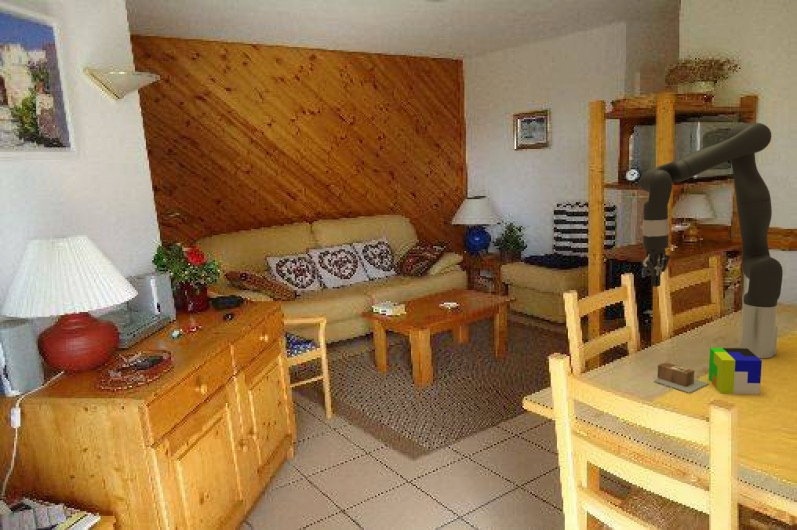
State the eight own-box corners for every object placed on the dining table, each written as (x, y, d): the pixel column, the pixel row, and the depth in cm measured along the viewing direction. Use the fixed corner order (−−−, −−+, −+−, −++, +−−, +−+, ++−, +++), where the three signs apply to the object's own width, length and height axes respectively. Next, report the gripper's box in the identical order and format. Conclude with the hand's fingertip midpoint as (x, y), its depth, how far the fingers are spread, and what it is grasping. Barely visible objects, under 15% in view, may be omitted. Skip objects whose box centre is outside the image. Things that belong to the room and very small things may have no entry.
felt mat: (673, 373, 173) (673, 372, 173) (708, 384, 164) (708, 383, 164) (653, 382, 168) (653, 380, 168) (689, 393, 159) (689, 392, 159)
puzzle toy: (759, 394, 156) (761, 360, 154) (720, 393, 158) (722, 360, 156) (745, 380, 166) (747, 348, 164) (708, 379, 168) (710, 347, 166)
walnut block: (665, 361, 171) (694, 369, 164) (665, 374, 172) (693, 383, 164) (657, 364, 169) (686, 373, 162) (657, 377, 170) (686, 386, 162)
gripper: (656, 229, 184) (656, 280, 187) (632, 235, 177) (633, 288, 180) (678, 231, 177) (678, 283, 181) (654, 237, 170) (654, 292, 174)
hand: (655, 286), depth 180 cm, fingers closed
